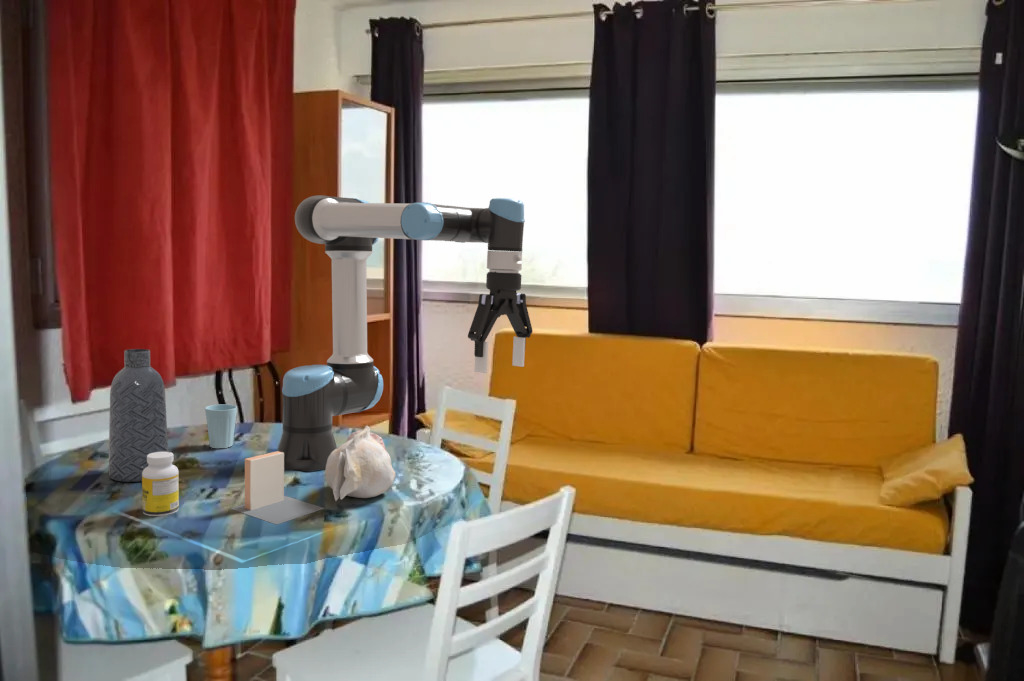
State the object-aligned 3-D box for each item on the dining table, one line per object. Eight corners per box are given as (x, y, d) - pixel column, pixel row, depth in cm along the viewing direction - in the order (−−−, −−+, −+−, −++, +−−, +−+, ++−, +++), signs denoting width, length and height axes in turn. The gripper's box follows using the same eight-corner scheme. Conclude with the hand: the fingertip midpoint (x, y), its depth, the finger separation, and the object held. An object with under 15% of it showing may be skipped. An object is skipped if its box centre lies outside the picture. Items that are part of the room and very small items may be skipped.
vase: (100, 474, 174) (97, 349, 171) (155, 464, 183) (153, 345, 179) (121, 486, 166) (119, 355, 162) (178, 476, 174) (176, 351, 171)
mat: (229, 510, 153) (229, 508, 153) (278, 496, 163) (278, 494, 163) (276, 527, 146) (276, 524, 145) (325, 510, 155) (325, 508, 155)
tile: (244, 508, 154) (244, 458, 153) (277, 498, 160) (277, 451, 159) (251, 510, 153) (251, 460, 151) (283, 500, 159) (284, 452, 158)
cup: (240, 448, 200) (240, 408, 199) (209, 451, 196) (209, 411, 194) (232, 441, 206) (232, 403, 205) (202, 445, 202) (201, 405, 201)
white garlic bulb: (412, 495, 167) (413, 427, 166) (340, 515, 153) (341, 441, 151) (364, 479, 178) (365, 414, 176) (292, 497, 163) (293, 427, 161)
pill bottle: (149, 507, 154) (149, 450, 152) (183, 507, 154) (183, 450, 153) (137, 518, 147) (136, 458, 146) (172, 518, 148) (171, 459, 146)
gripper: (481, 272, 155) (477, 377, 157) (550, 272, 175) (545, 365, 177) (453, 270, 159) (449, 372, 161) (523, 270, 179) (519, 361, 182)
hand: (500, 369), depth 169 cm, fingers open, 13 cm apart
